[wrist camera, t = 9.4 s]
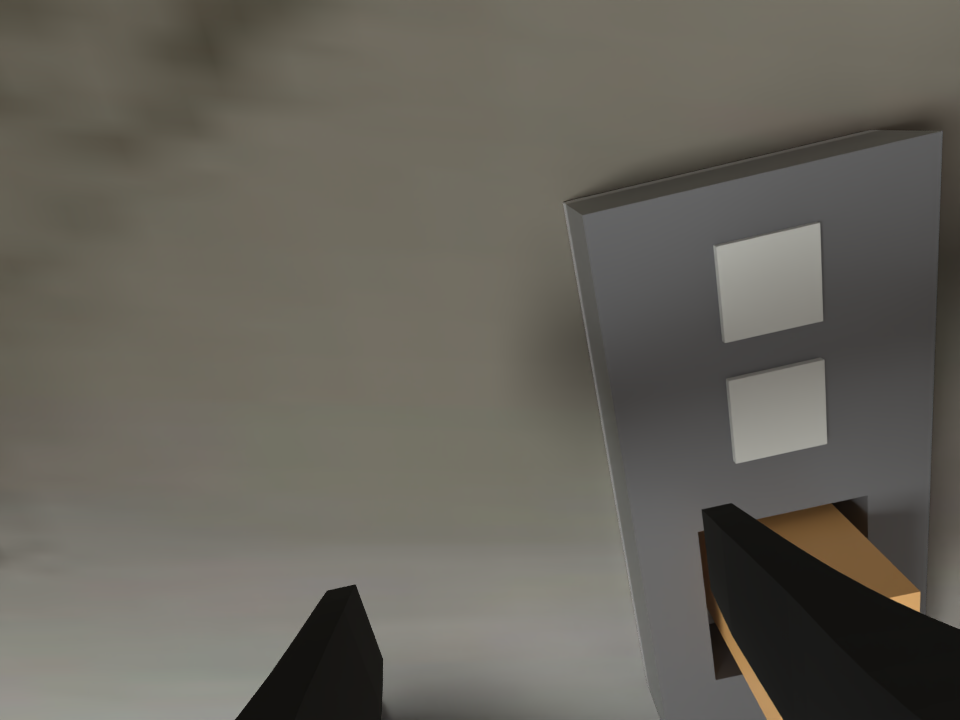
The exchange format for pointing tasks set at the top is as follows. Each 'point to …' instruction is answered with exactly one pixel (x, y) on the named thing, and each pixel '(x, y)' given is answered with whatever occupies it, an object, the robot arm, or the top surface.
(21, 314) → the top surface
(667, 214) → the power strip
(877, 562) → the plug block
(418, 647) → the top surface
